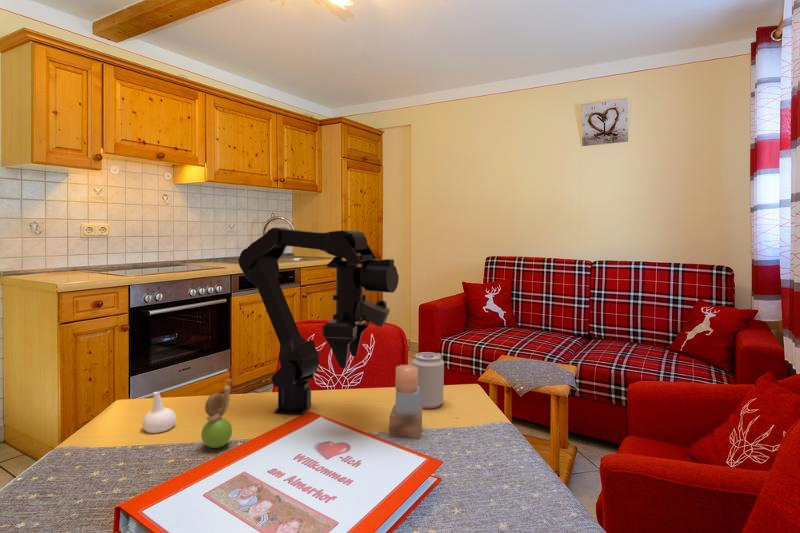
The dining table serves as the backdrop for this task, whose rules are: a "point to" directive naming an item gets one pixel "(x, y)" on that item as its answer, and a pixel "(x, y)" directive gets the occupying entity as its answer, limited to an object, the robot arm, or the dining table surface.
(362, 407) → the dining table surface
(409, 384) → the terracotta cylinder
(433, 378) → the can
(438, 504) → the dining table surface
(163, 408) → the garlic bulb
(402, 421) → the walnut base block
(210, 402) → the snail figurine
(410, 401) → the slate cube
